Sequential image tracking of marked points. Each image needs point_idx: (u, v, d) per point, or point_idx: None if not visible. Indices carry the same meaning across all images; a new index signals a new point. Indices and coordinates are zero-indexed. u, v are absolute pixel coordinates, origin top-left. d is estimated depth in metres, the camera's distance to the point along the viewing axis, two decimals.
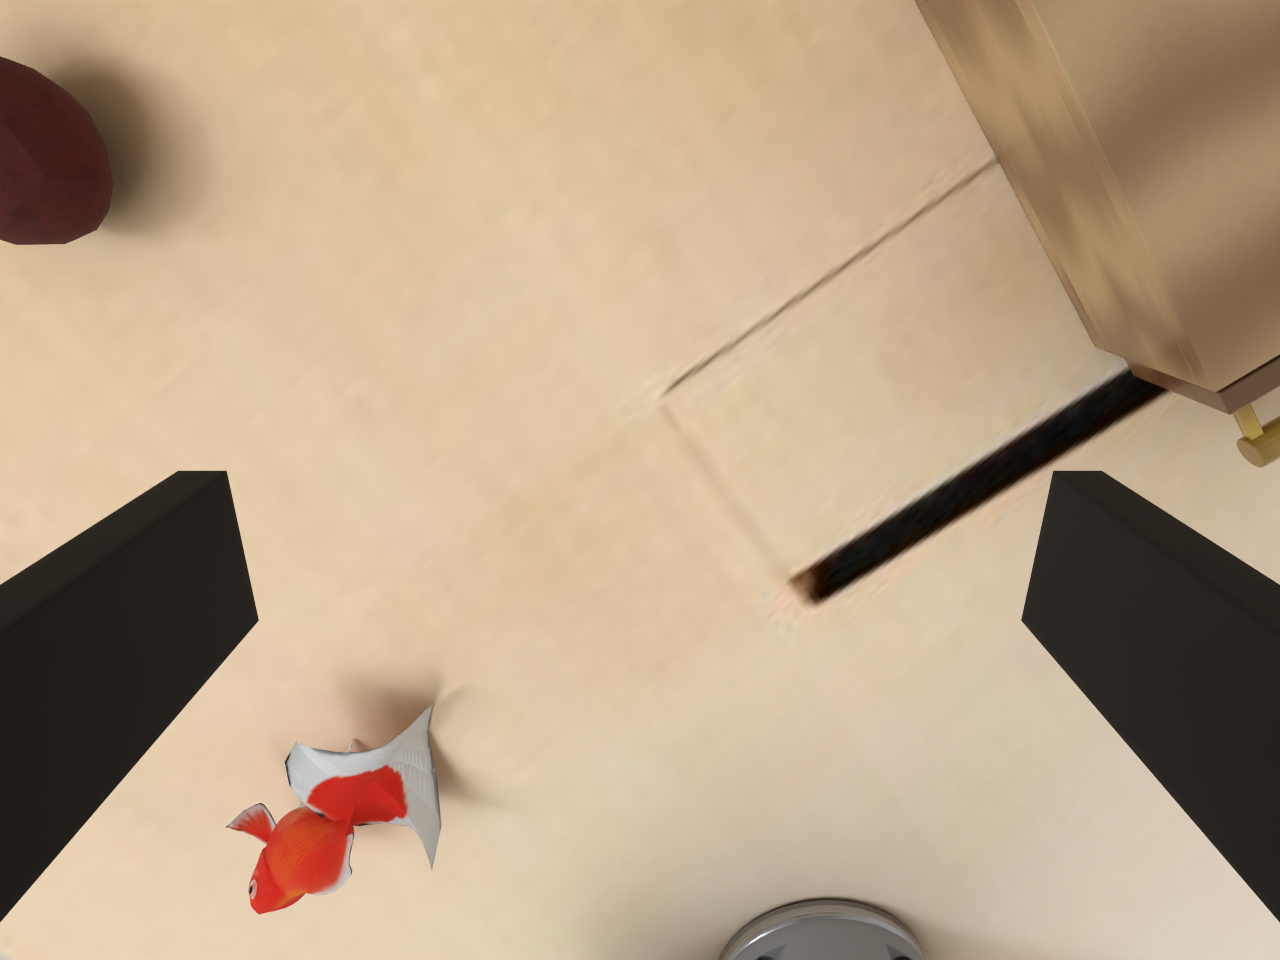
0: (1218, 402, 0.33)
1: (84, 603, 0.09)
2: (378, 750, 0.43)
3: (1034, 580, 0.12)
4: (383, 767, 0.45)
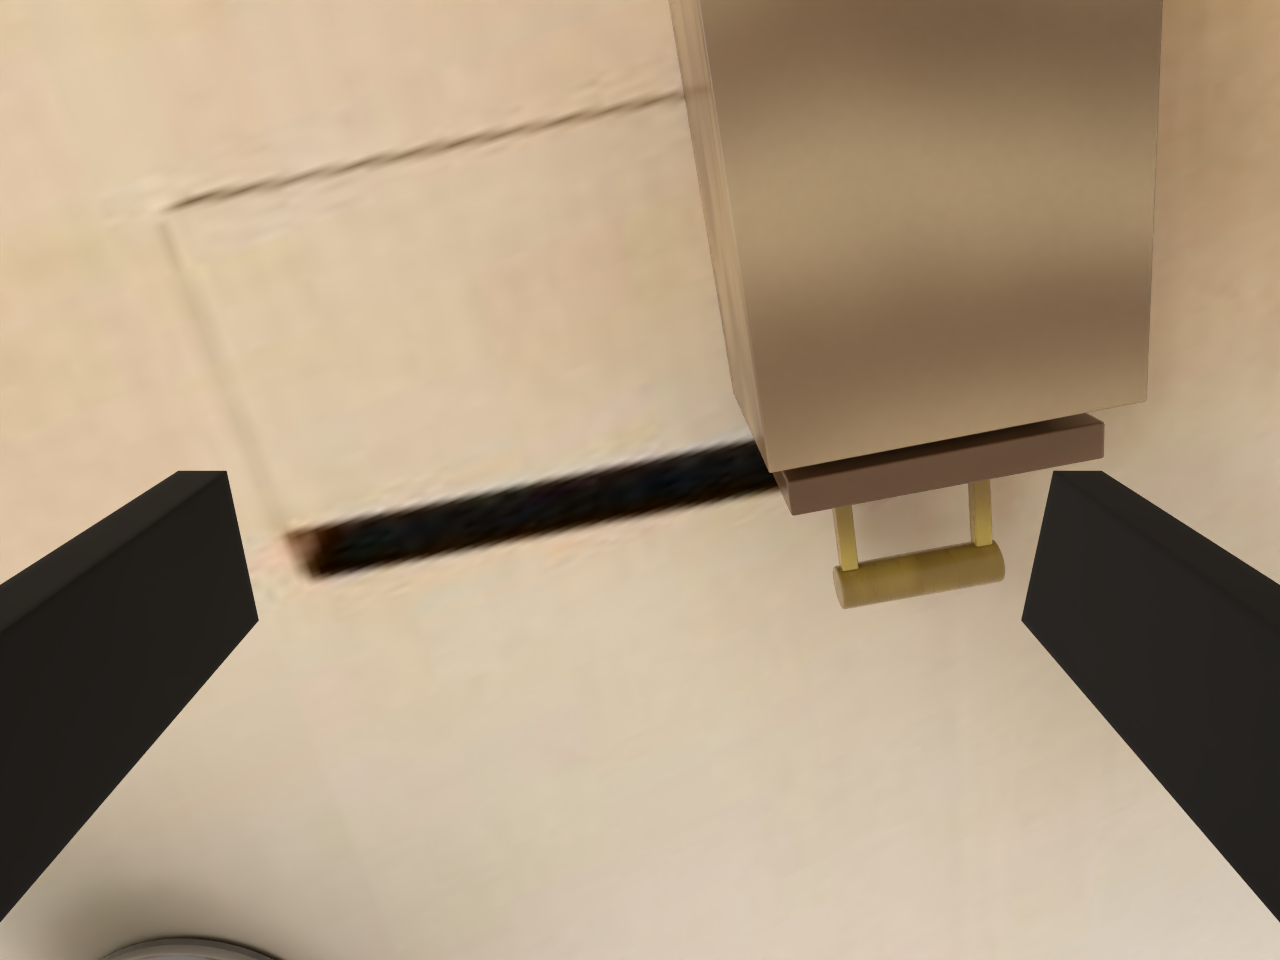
0: (787, 495, 0.24)
1: (83, 603, 0.09)
2: None
3: (1034, 580, 0.12)
4: None
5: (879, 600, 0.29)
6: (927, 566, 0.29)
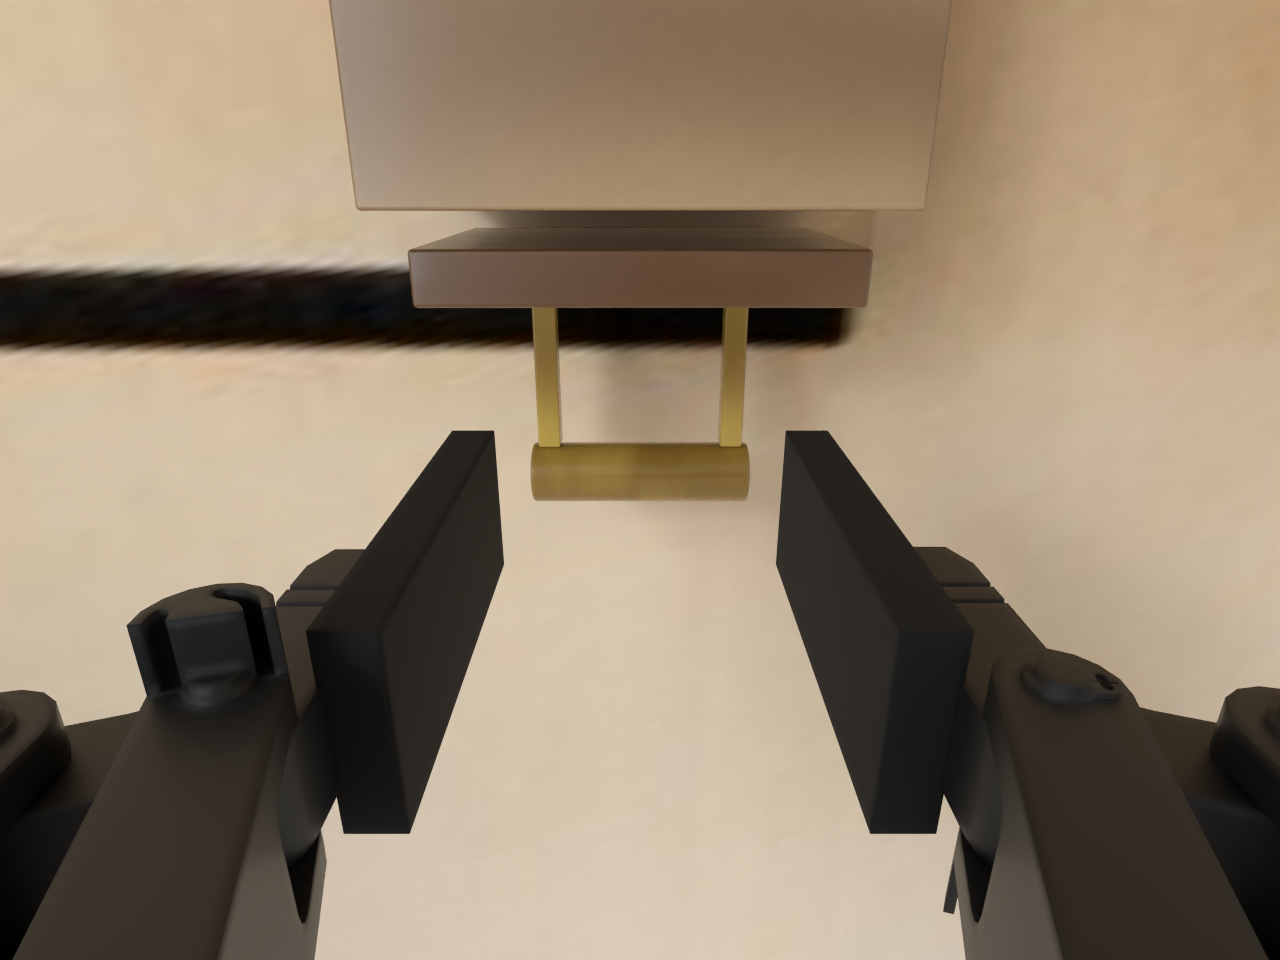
0: (414, 277, 0.16)
1: (452, 528, 0.11)
2: None
3: (780, 527, 0.14)
4: None
5: (580, 494, 0.21)
6: (649, 459, 0.21)
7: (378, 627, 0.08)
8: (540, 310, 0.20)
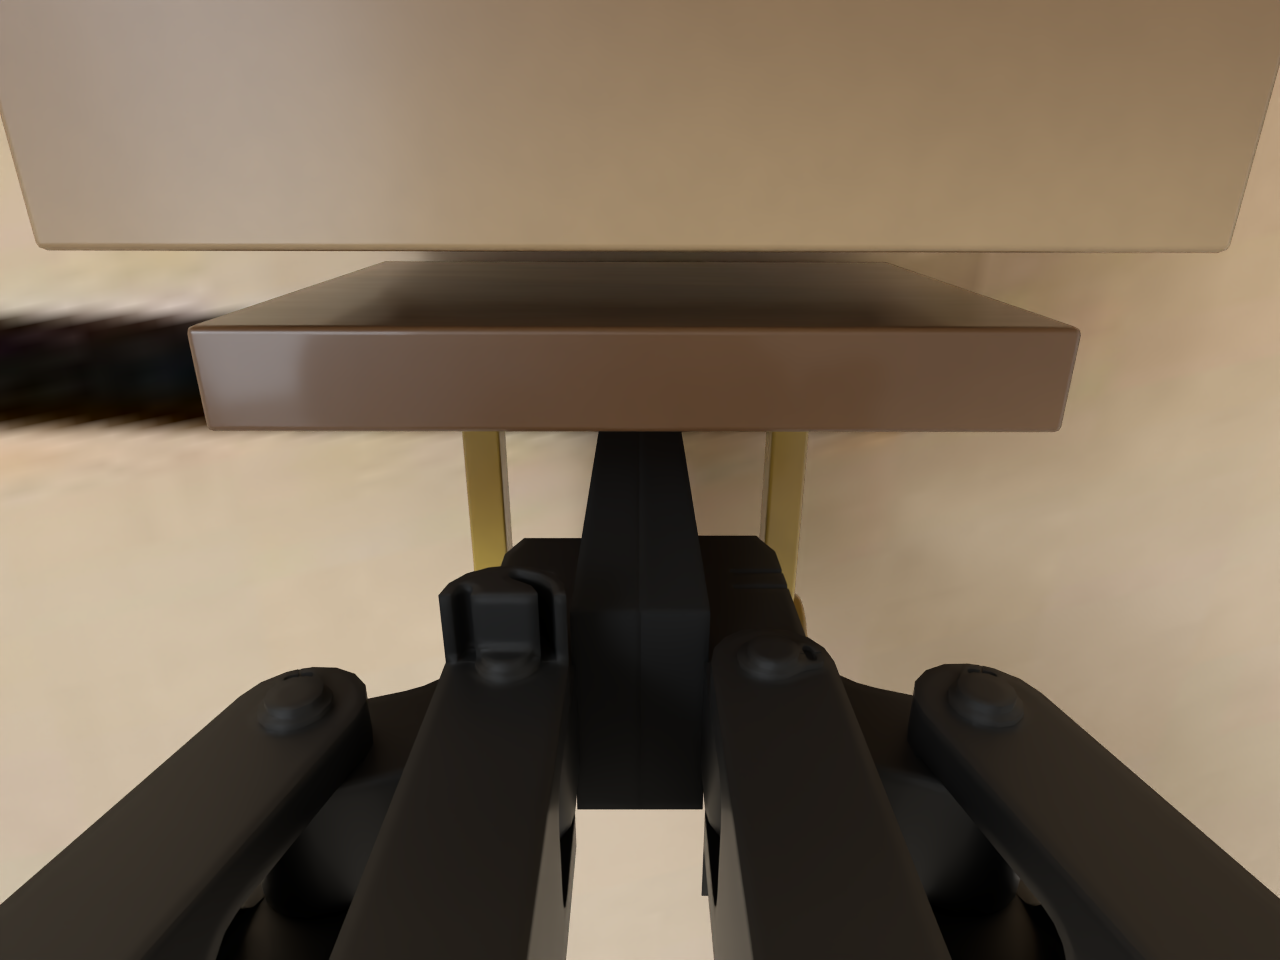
0: (212, 373, 0.09)
1: None
2: None
3: None
4: None
5: None
6: None
7: (636, 608, 0.08)
8: None
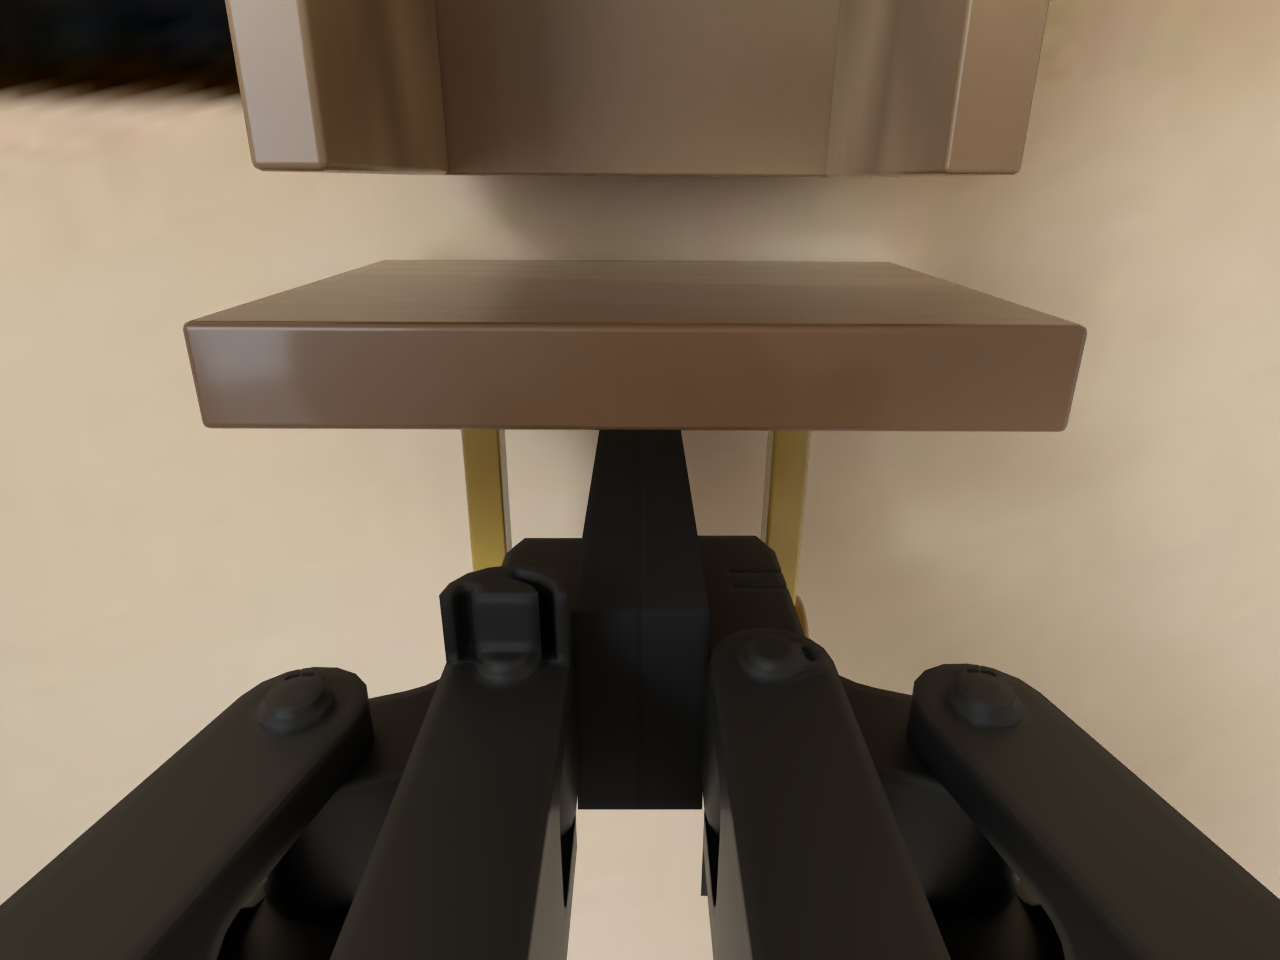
0: (207, 370, 0.09)
1: None
2: None
3: None
4: None
5: None
6: None
7: (636, 608, 0.08)
8: None
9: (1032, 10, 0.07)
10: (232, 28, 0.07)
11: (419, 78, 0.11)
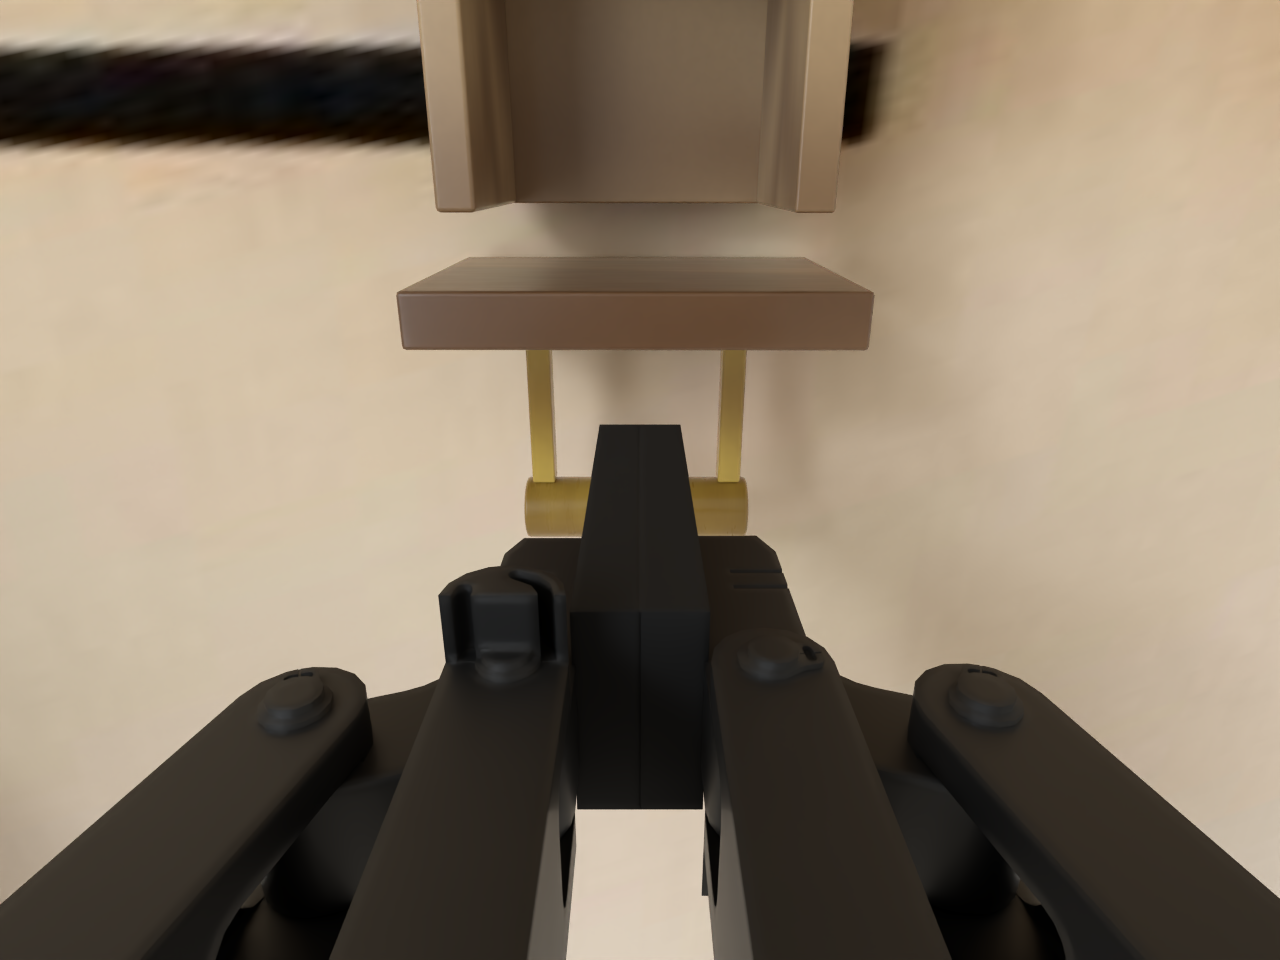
0: (403, 318, 0.16)
1: None
2: None
3: None
4: None
5: (575, 530, 0.21)
6: None
7: (635, 609, 0.08)
8: None
9: (833, 132, 0.15)
10: (430, 141, 0.15)
11: (504, 148, 0.18)
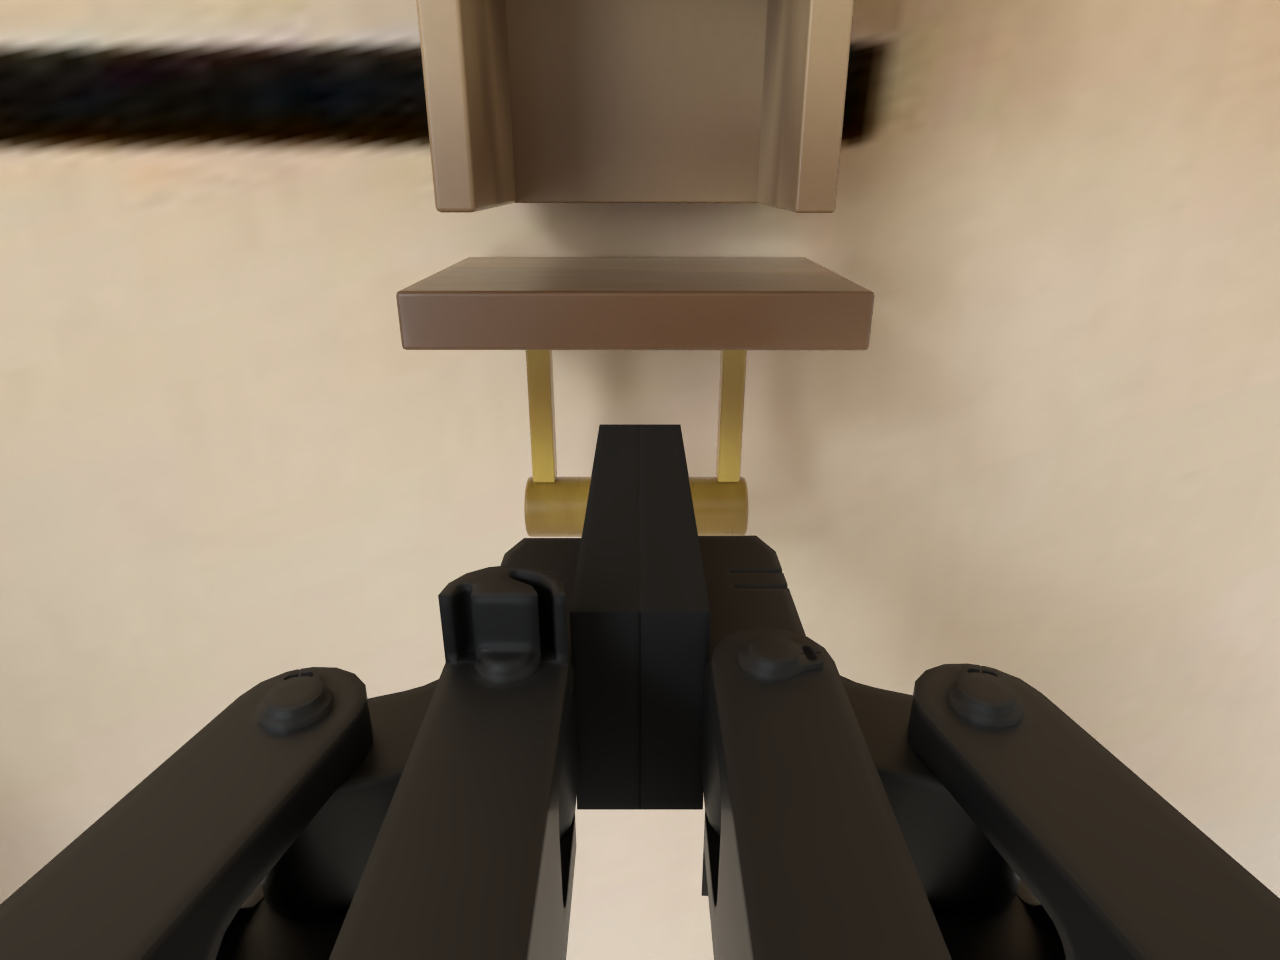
0: (403, 318, 0.16)
1: None
2: None
3: None
4: None
5: (575, 530, 0.21)
6: None
7: (635, 609, 0.08)
8: None
9: (833, 132, 0.15)
10: (430, 141, 0.15)
11: (504, 148, 0.18)
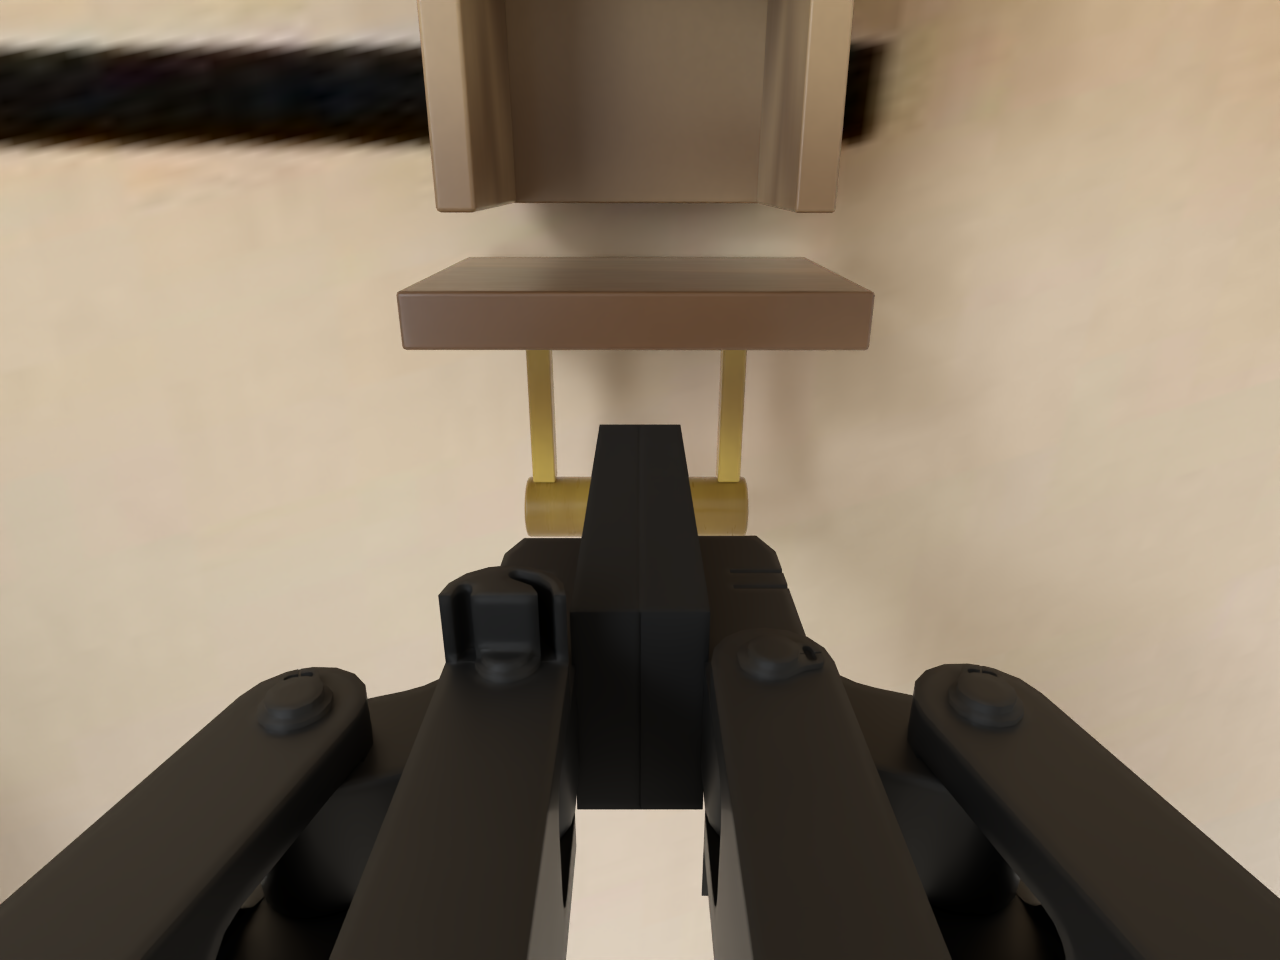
0: (403, 318, 0.16)
1: None
2: None
3: None
4: None
5: (575, 530, 0.21)
6: None
7: (635, 609, 0.08)
8: None
9: (833, 131, 0.15)
10: (430, 141, 0.15)
11: (504, 148, 0.18)
